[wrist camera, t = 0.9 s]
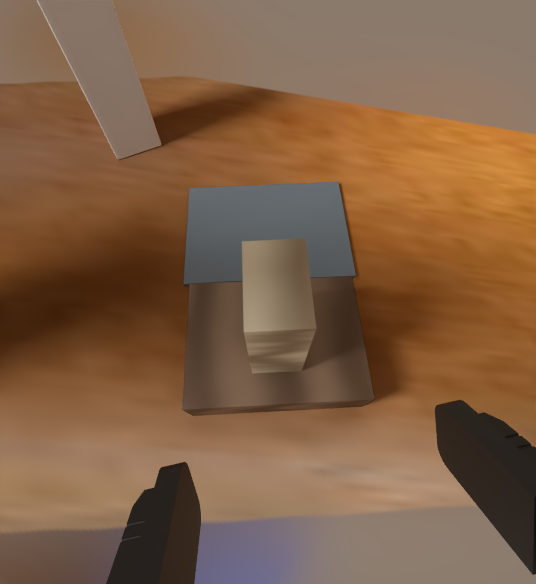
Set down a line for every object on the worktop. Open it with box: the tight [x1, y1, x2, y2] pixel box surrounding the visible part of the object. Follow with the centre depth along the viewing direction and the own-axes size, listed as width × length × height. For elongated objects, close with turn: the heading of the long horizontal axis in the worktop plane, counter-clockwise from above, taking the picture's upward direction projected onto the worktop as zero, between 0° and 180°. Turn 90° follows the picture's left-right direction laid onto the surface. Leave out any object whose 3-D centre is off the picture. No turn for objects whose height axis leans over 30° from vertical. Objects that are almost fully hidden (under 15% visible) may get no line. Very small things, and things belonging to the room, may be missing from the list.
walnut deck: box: [182, 276, 374, 416], centre depth 31 cm, size 15×11×4 cm
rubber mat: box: [183, 182, 356, 285], centre depth 39 cm, size 18×13×1 cm
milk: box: [37, 0, 162, 160], centre depth 36 cm, size 6×6×22 cm
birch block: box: [242, 238, 316, 374], centre depth 25 cm, size 4×6×10 cm, turn 3°
